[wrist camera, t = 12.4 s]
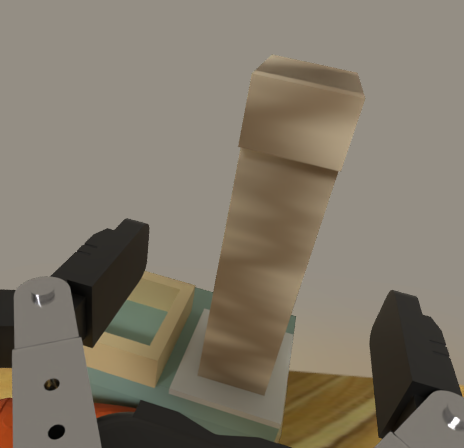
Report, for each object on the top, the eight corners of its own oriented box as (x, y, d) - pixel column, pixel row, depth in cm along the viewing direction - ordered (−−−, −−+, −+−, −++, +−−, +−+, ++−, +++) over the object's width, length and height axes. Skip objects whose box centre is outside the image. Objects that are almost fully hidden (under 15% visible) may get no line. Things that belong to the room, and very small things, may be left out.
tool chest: (50, 489, 28) (30, 322, 20) (107, 392, 35) (110, 238, 27) (241, 558, 27) (304, 408, 18) (261, 442, 33) (314, 295, 25)
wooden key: (193, 386, 20) (251, 73, 13) (217, 320, 24) (272, 54, 17) (262, 407, 20) (365, 98, 12) (274, 336, 24) (357, 73, 16)
